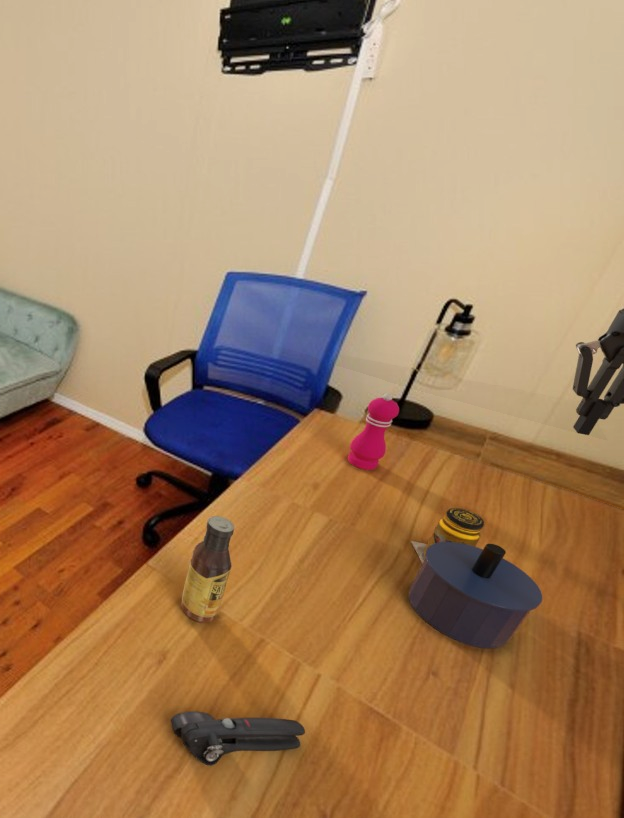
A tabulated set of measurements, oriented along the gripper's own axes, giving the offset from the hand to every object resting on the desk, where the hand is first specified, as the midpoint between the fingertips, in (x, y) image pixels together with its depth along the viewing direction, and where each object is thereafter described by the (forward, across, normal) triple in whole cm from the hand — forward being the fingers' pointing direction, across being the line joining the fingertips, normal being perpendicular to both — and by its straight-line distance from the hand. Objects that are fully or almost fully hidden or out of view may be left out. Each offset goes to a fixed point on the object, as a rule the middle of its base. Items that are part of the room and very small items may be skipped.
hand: (580, 430), depth 96 cm
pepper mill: (+25, +28, -11) cm, 39 cm away
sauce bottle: (+25, +53, +58) cm, 82 cm away
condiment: (+25, +15, +20) cm, 35 cm away
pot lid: (+15, +14, +35) cm, 41 cm away
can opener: (+25, +43, +79) cm, 93 cm away
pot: (+24, +14, +35) cm, 45 cm away
